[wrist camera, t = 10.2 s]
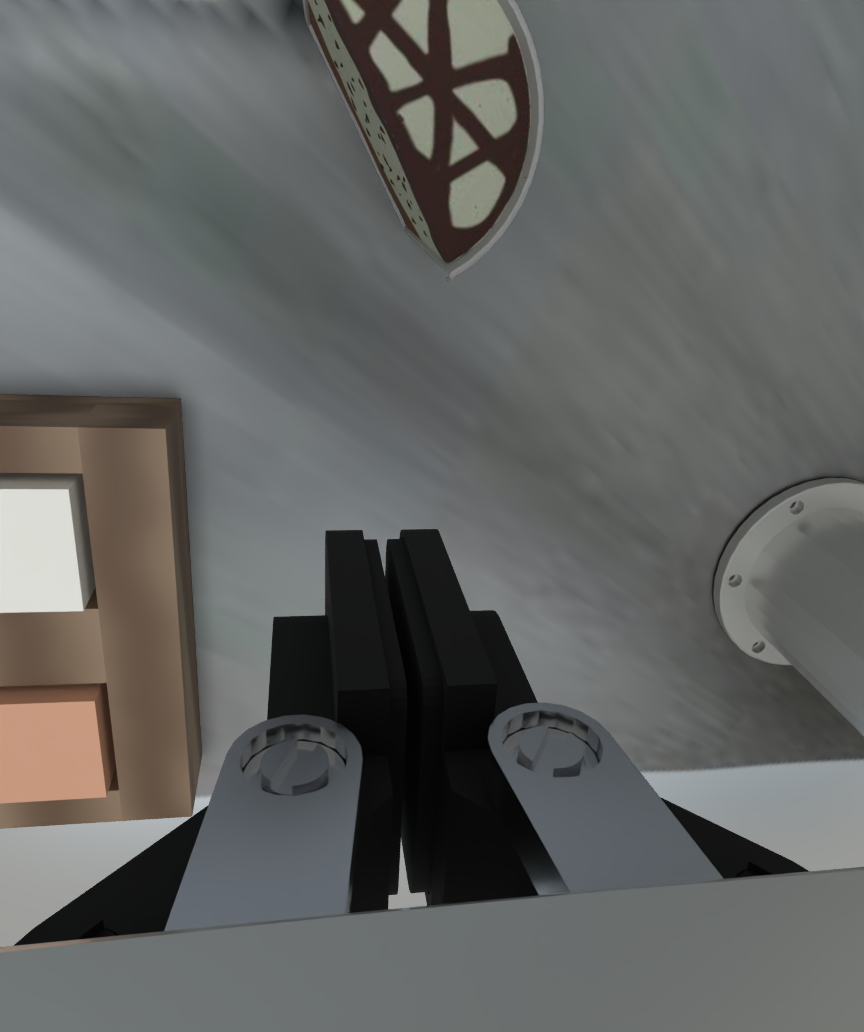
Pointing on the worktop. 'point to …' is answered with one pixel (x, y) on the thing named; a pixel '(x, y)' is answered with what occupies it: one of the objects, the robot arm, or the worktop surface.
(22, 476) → the offwhite key
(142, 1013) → the robot arm
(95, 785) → the terracotta key
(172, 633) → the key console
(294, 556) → the worktop surface
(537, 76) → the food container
